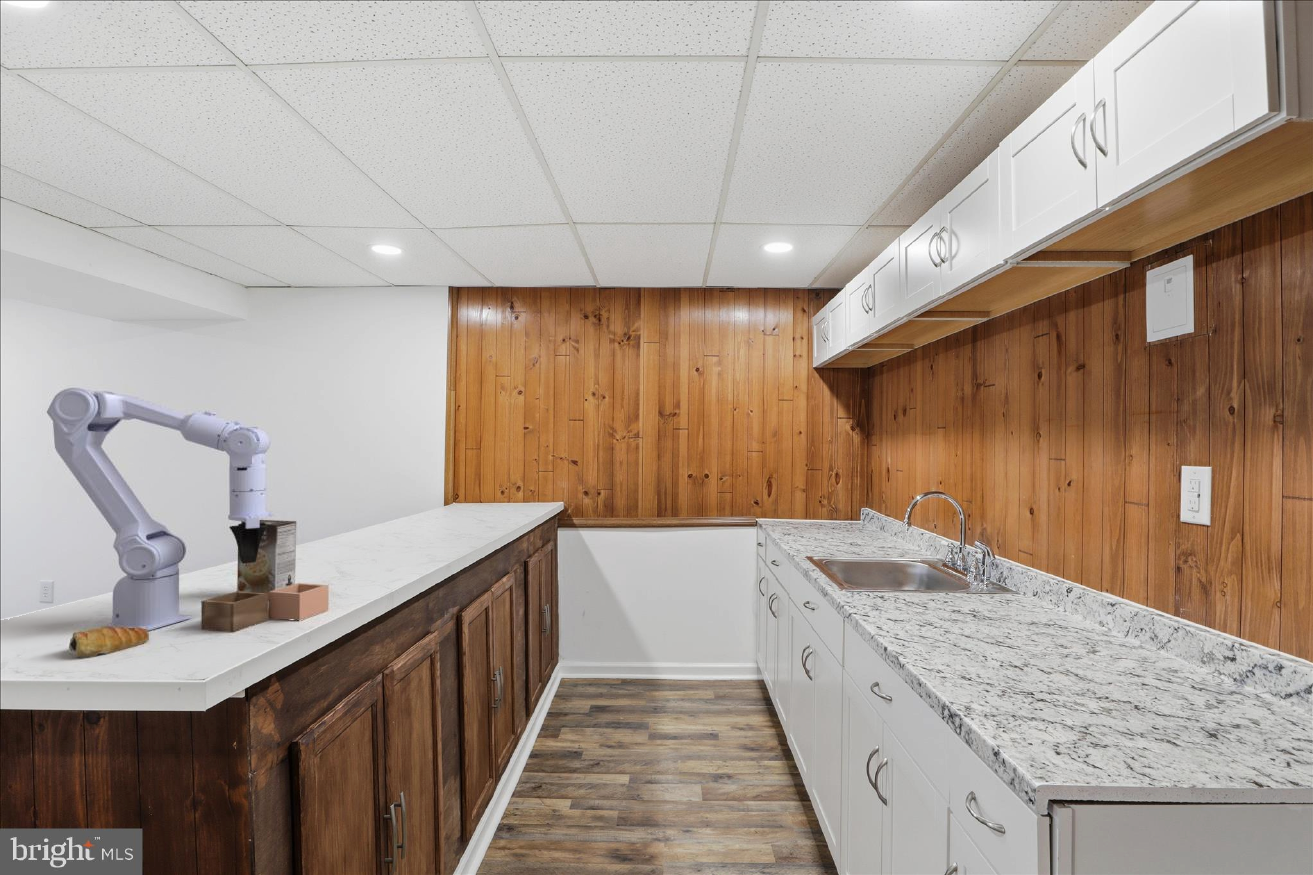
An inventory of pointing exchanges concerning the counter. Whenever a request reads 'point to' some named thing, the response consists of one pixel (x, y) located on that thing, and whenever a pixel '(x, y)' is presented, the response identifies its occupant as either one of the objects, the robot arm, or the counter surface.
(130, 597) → the robot arm
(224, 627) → the box
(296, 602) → the box
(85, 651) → the pastry
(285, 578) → the coffee box
